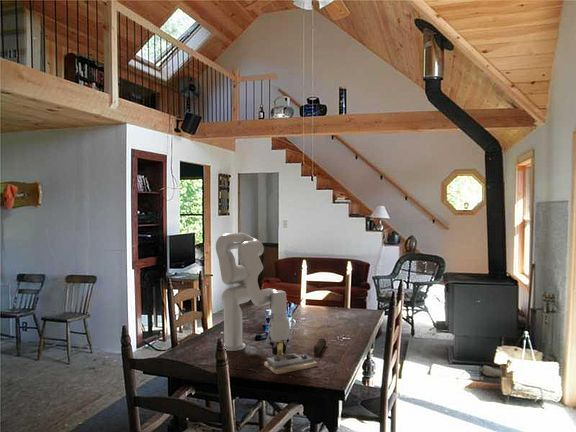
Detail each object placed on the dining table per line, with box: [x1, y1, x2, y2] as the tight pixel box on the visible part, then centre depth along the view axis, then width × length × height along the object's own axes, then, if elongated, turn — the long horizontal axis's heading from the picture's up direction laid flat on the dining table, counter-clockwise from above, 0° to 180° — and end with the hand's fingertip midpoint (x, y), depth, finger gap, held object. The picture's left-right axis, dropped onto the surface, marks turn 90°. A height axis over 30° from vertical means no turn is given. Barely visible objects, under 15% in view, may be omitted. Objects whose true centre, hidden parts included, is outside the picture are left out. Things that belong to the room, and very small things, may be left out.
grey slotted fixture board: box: [266, 352, 315, 369], centre depth 196 cm, size 8×20×3 cm, turn 117°
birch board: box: [263, 360, 318, 375], centre depth 197 cm, size 13×21×2 cm, turn 117°
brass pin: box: [274, 341, 284, 357], centre depth 207 cm, size 4×4×8 cm
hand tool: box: [313, 338, 327, 357], centre depth 217 cm, size 19×4×5 cm, turn 162°
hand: (279, 353), depth 207 cm, fingers closed on brass pin, 4 cm apart
